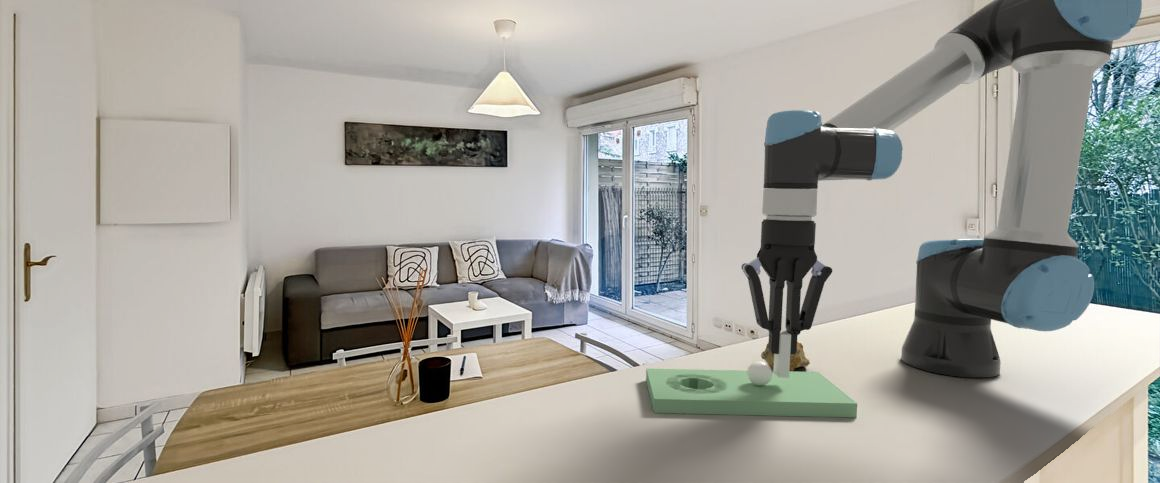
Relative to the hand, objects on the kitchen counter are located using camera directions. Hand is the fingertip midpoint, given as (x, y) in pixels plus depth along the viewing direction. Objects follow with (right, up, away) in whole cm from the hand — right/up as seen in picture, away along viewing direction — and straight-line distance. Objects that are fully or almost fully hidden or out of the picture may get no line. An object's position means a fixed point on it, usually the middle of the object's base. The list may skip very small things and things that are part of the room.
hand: (781, 374), depth 86 cm
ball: (-3, 0, 0) cm, 3 cm away
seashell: (+6, -3, +14) cm, 16 cm away
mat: (-6, -4, +1) cm, 7 cm away
